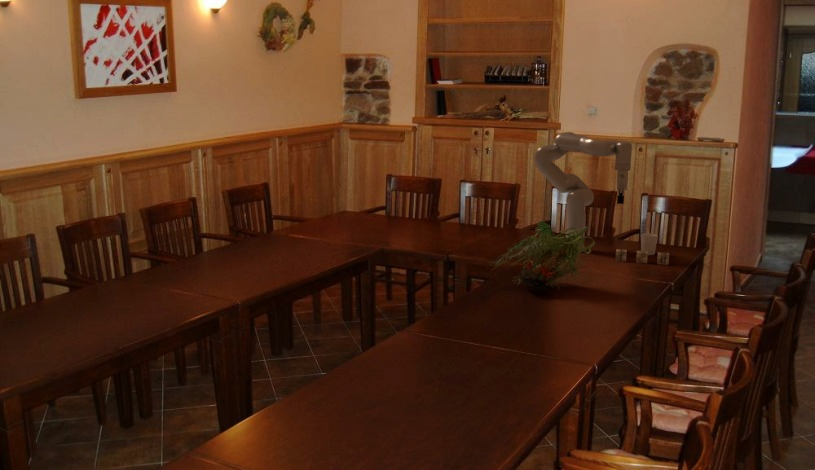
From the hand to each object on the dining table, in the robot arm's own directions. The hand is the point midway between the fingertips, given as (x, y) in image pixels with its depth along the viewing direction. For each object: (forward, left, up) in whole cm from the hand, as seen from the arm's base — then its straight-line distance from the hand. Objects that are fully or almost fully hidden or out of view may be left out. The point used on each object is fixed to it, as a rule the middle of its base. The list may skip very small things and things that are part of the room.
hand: (620, 203), depth 425 cm
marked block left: (-2, -8, -27) cm, 28 cm away
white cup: (+19, +3, -27) cm, 33 cm away
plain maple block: (+7, -13, -27) cm, 31 cm away
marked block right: (+16, -18, -27) cm, 36 cm away
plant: (-60, -50, -27) cm, 83 cm away
